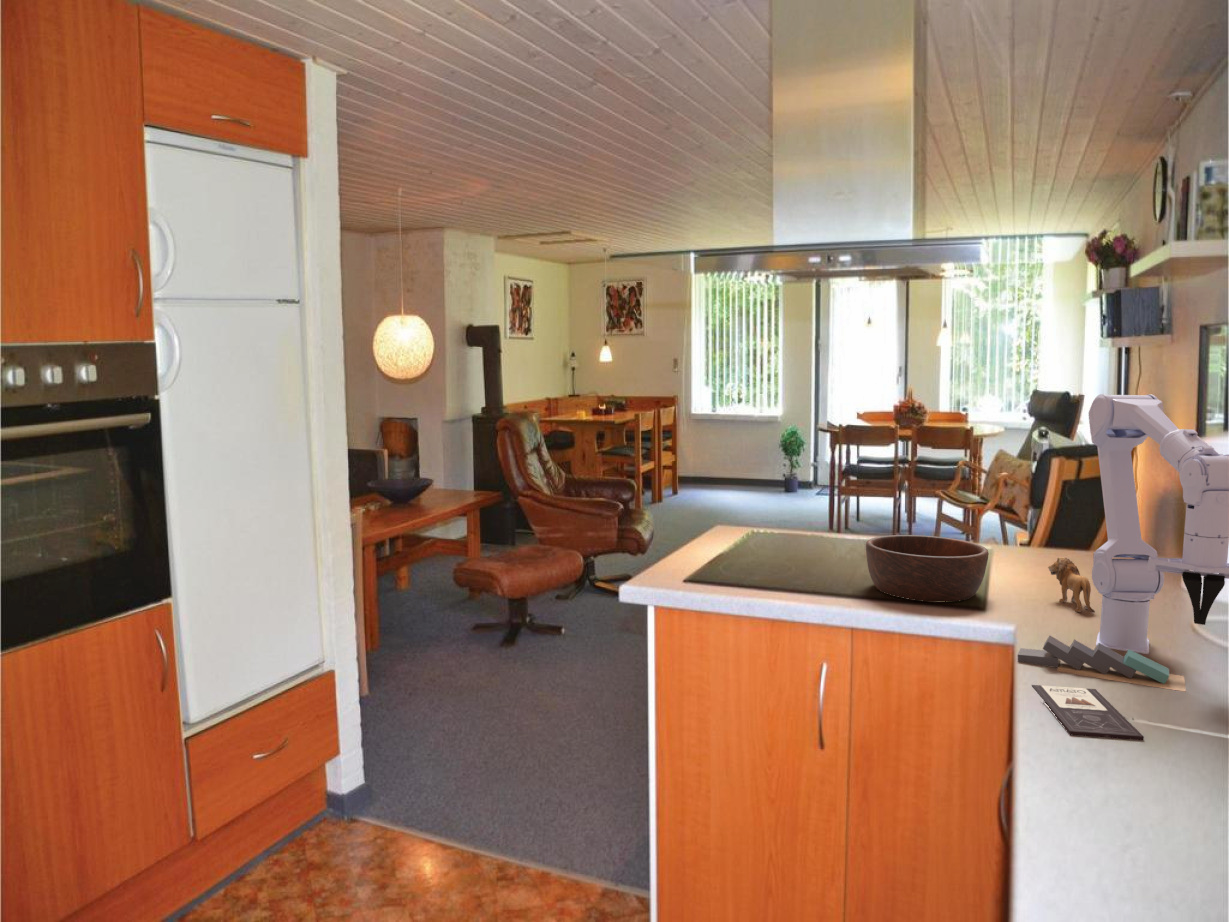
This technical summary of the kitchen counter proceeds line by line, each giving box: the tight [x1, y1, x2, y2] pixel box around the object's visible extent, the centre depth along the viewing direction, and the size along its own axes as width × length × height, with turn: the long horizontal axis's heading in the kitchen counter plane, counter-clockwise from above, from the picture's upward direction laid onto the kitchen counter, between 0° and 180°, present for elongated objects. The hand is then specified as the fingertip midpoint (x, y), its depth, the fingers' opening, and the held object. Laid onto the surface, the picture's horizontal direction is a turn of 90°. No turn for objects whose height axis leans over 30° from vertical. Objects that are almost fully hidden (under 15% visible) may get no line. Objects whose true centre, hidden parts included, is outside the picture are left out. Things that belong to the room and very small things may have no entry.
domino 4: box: [1093, 643, 1136, 679], centre depth 144 cm, size 2×4×6 cm
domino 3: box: [1068, 639, 1110, 675], centre depth 146 cm, size 2×4×6 cm
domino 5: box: [1123, 649, 1170, 684], centre depth 142 cm, size 2×4×6 cm
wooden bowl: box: [865, 534, 990, 603], centre depth 197 cm, size 25×25×10 cm
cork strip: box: [1056, 660, 1187, 693], centre depth 144 cm, size 8×17×1 cm, turn 60°
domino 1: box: [1017, 647, 1060, 668], centre depth 150 cm, size 2×4×6 cm
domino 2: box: [1042, 635, 1084, 671], centre depth 148 cm, size 2×4×6 cm
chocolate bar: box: [1031, 684, 1145, 742], centre depth 129 cm, size 9×1×18 cm
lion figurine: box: [1047, 556, 1096, 614], centre depth 187 cm, size 15×5×9 cm, turn 3°
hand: (1199, 622), depth 139 cm, fingers closed
